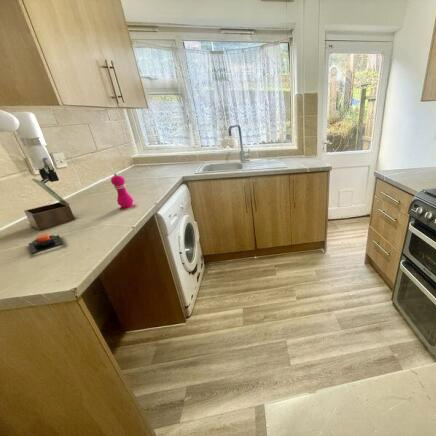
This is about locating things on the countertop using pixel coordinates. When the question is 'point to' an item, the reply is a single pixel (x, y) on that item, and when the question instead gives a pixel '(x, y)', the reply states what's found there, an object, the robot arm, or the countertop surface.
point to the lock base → (45, 244)
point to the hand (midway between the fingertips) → (50, 179)
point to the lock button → (43, 238)
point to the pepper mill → (122, 192)
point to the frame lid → (49, 190)
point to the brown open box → (49, 215)
